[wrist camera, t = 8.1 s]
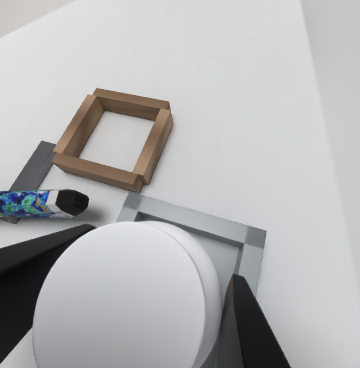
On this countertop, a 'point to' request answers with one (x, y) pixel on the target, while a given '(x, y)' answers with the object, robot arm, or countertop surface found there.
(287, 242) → the countertop surface
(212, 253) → the tray
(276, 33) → the countertop surface
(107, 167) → the socket collar
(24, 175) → the bar
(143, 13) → the countertop surface
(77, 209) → the knife
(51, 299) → the supplement bottle
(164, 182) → the countertop surface
